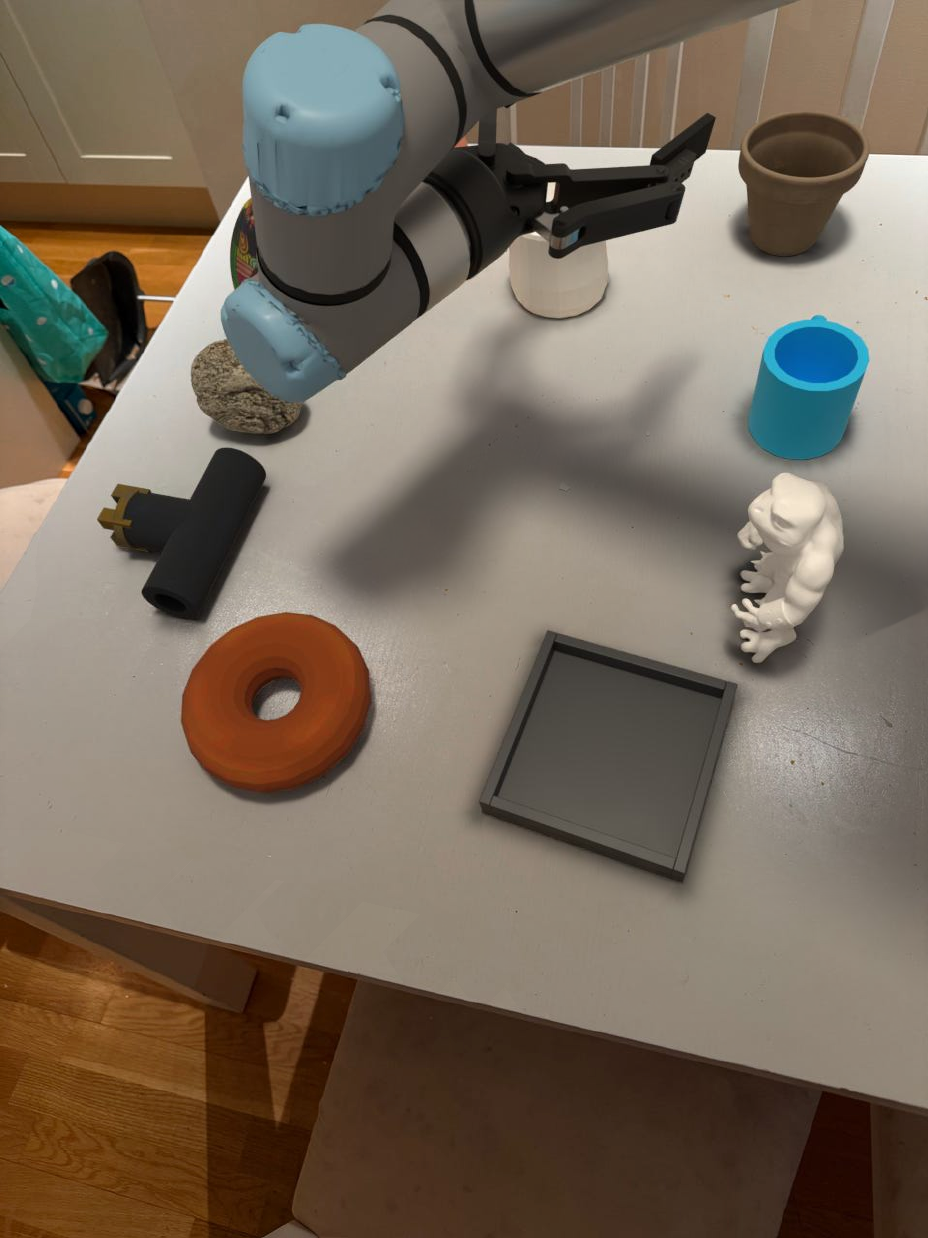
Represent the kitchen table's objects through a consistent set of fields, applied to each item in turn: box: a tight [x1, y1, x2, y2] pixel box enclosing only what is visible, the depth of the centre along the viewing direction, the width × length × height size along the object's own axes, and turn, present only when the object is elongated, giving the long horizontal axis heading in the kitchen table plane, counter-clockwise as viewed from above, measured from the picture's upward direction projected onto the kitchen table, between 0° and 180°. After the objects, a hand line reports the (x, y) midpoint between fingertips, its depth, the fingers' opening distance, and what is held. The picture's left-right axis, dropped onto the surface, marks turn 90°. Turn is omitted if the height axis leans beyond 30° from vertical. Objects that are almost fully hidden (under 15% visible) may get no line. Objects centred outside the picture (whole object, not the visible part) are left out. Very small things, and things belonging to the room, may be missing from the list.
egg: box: [229, 197, 258, 291], centre depth 87 cm, size 11×11×15 cm
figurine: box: [730, 471, 845, 664], centre depth 63 cm, size 11×7×15 cm, turn 170°
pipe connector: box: [96, 446, 267, 620], centre depth 78 cm, size 12×5×15 cm
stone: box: [190, 338, 303, 435], centre depth 83 cm, size 6×10×10 cm, turn 75°
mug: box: [748, 314, 870, 461], centre depth 76 cm, size 12×8×8 cm
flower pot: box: [737, 109, 871, 257], centre depth 87 cm, size 12×11×10 cm
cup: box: [508, 182, 609, 319], centre depth 87 cm, size 10×10×10 cm
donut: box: [180, 611, 372, 794], centre depth 68 cm, size 15×15×5 cm
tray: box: [478, 629, 738, 883], centre depth 64 cm, size 15×15×2 cm
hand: (632, 90), depth 66 cm, fingers open, 13 cm apart
